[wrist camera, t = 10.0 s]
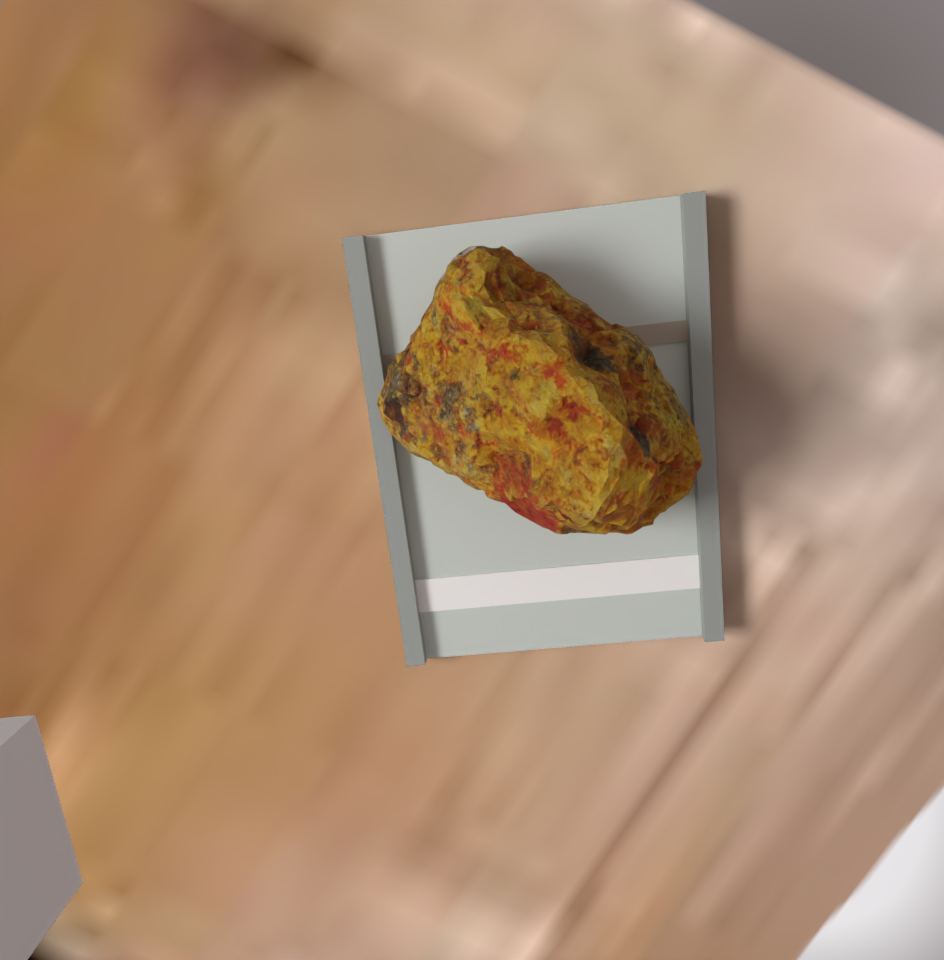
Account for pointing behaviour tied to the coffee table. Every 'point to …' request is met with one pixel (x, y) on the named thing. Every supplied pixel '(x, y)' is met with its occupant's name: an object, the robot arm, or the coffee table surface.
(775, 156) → the coffee table surface
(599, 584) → the mat
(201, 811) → the coffee table surface
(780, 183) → the coffee table surface
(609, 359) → the rock
